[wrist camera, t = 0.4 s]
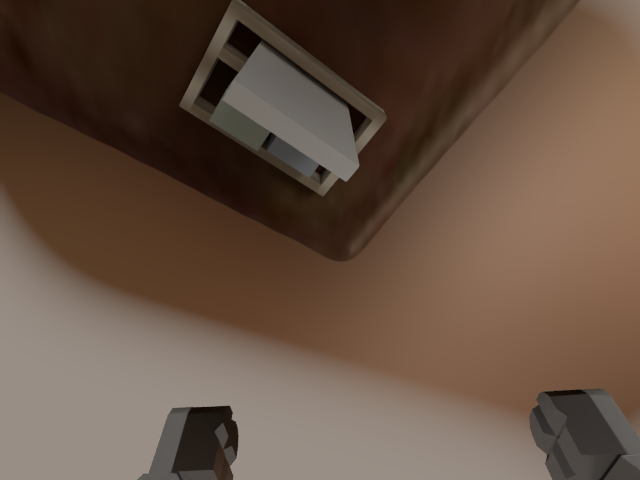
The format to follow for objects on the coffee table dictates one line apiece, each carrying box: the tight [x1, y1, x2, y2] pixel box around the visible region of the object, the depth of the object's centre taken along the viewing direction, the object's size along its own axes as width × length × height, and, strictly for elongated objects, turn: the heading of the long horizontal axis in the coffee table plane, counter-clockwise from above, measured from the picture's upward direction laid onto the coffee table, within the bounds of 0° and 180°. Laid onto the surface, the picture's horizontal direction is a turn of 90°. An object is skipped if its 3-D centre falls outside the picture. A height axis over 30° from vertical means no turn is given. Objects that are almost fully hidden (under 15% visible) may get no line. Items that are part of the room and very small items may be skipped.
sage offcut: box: [209, 74, 270, 151], centre depth 45 cm, size 4×6×7 cm, turn 54°
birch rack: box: [179, 0, 387, 196], centre depth 47 cm, size 13×20×3 cm, turn 54°
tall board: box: [223, 39, 359, 182], centre depth 39 cm, size 2×12×18 cm, turn 55°
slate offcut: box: [267, 133, 319, 177], centre depth 48 cm, size 4×6×6 cm, turn 54°
